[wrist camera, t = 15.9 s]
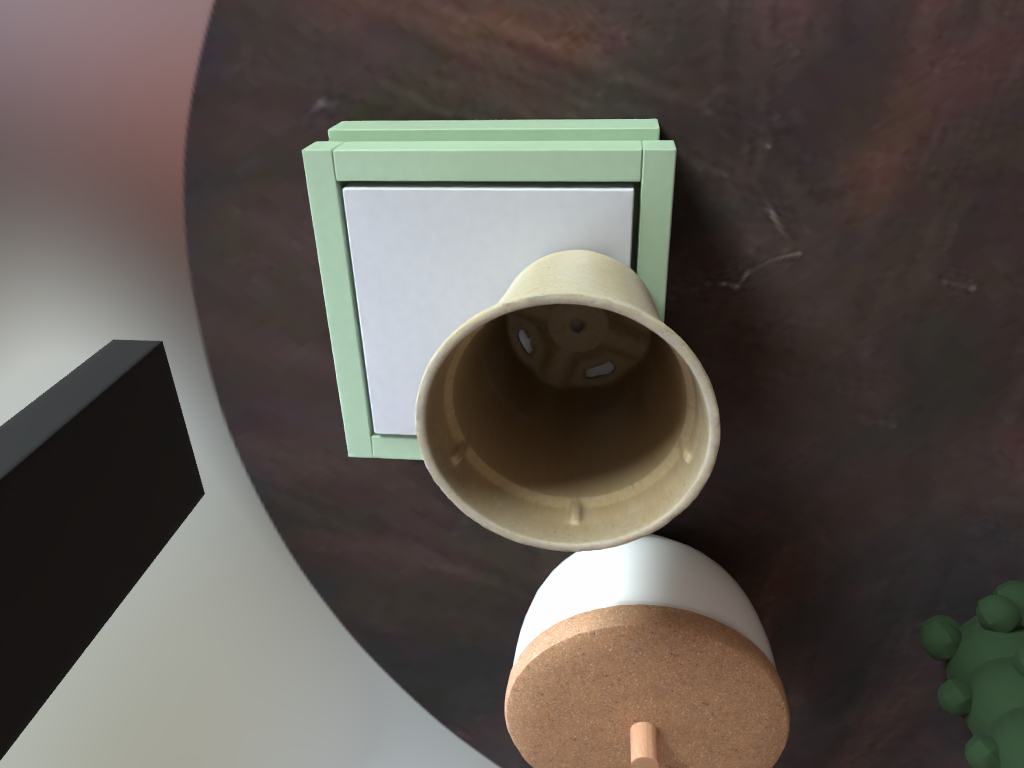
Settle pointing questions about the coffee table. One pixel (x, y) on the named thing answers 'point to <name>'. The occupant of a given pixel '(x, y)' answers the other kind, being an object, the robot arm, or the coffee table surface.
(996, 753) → the toy figurine
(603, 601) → the lidded bowl
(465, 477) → the flower pot
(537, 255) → the pan
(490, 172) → the scale
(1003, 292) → the coffee table surface
